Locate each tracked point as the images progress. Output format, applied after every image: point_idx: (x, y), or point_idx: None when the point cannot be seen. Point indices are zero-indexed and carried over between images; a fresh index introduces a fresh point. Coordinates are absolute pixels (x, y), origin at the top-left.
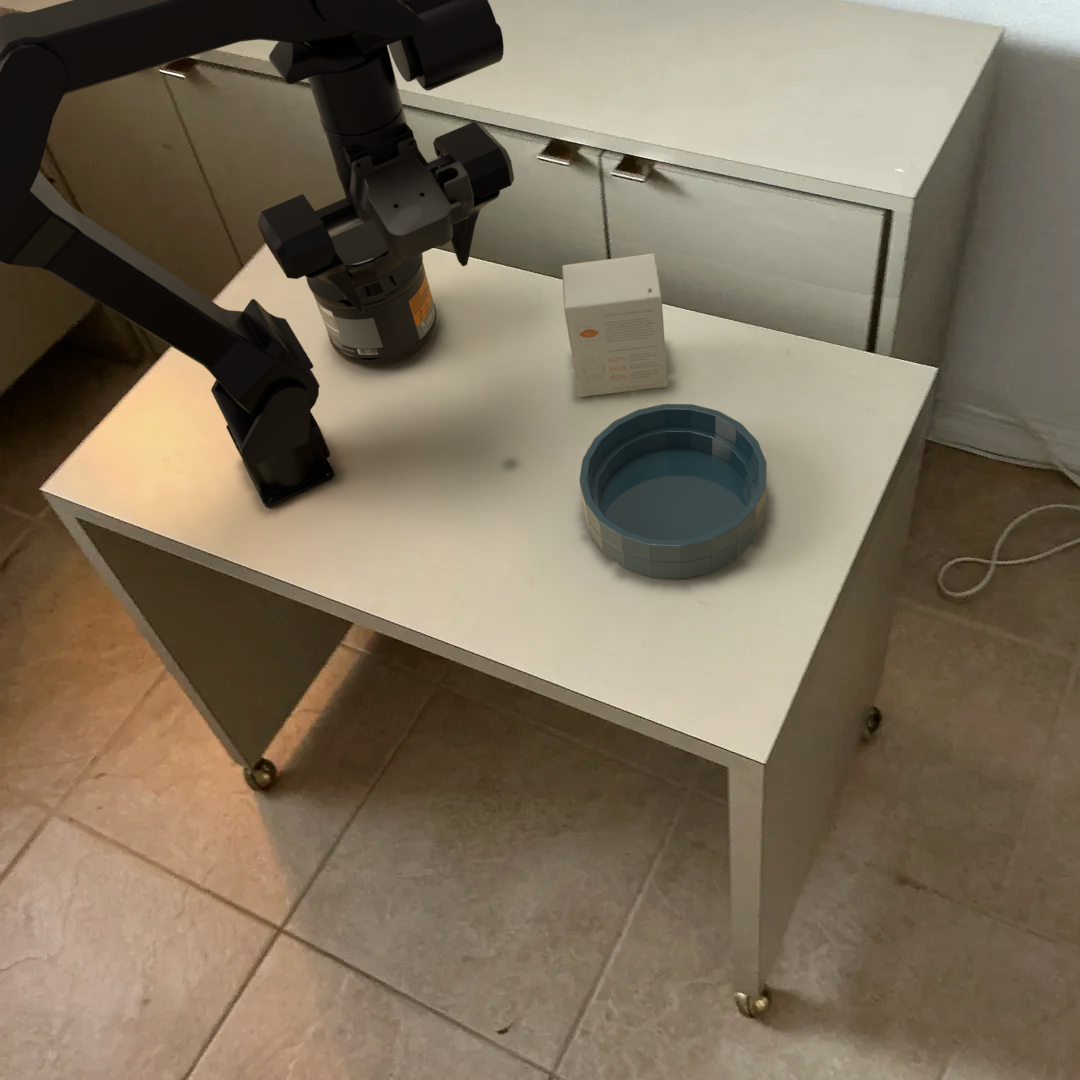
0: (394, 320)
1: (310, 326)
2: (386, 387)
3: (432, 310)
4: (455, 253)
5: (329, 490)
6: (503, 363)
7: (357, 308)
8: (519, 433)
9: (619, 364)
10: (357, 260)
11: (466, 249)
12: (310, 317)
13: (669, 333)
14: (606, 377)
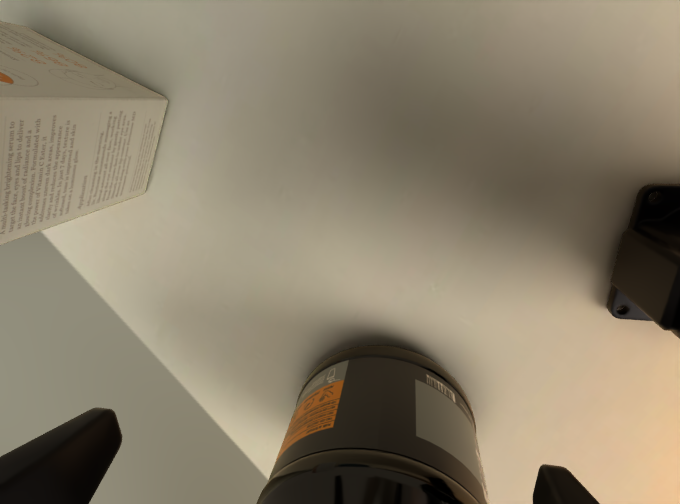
0: (377, 407)
1: None
2: (438, 318)
3: (304, 394)
4: (106, 470)
5: (670, 162)
6: (253, 249)
7: (587, 494)
8: (291, 81)
9: (37, 55)
10: None
11: (13, 462)
12: None
13: None
14: (89, 71)
